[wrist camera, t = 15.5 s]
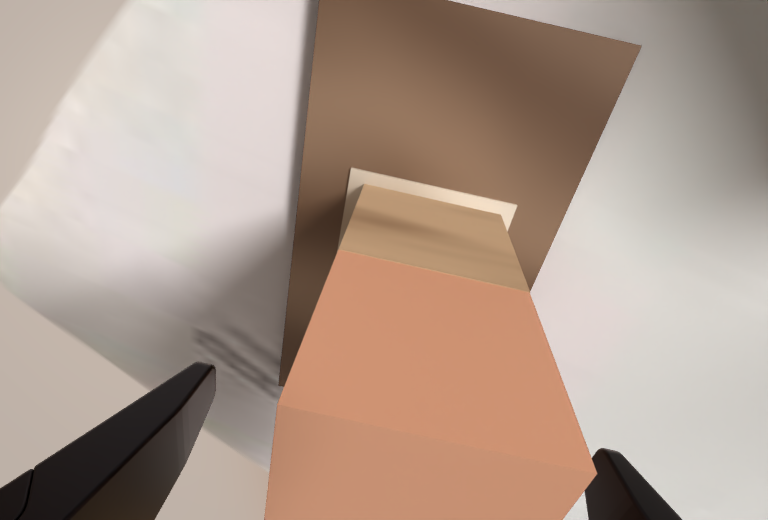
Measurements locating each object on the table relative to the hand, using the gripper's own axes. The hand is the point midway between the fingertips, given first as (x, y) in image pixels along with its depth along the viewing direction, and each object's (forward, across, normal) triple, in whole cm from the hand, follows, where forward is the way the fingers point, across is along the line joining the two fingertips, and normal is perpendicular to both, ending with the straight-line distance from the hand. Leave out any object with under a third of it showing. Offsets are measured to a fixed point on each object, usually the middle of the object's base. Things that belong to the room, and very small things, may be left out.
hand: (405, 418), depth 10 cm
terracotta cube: (+3, 0, 0) cm, 3 cm away
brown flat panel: (+8, 0, 0) cm, 8 cm away
